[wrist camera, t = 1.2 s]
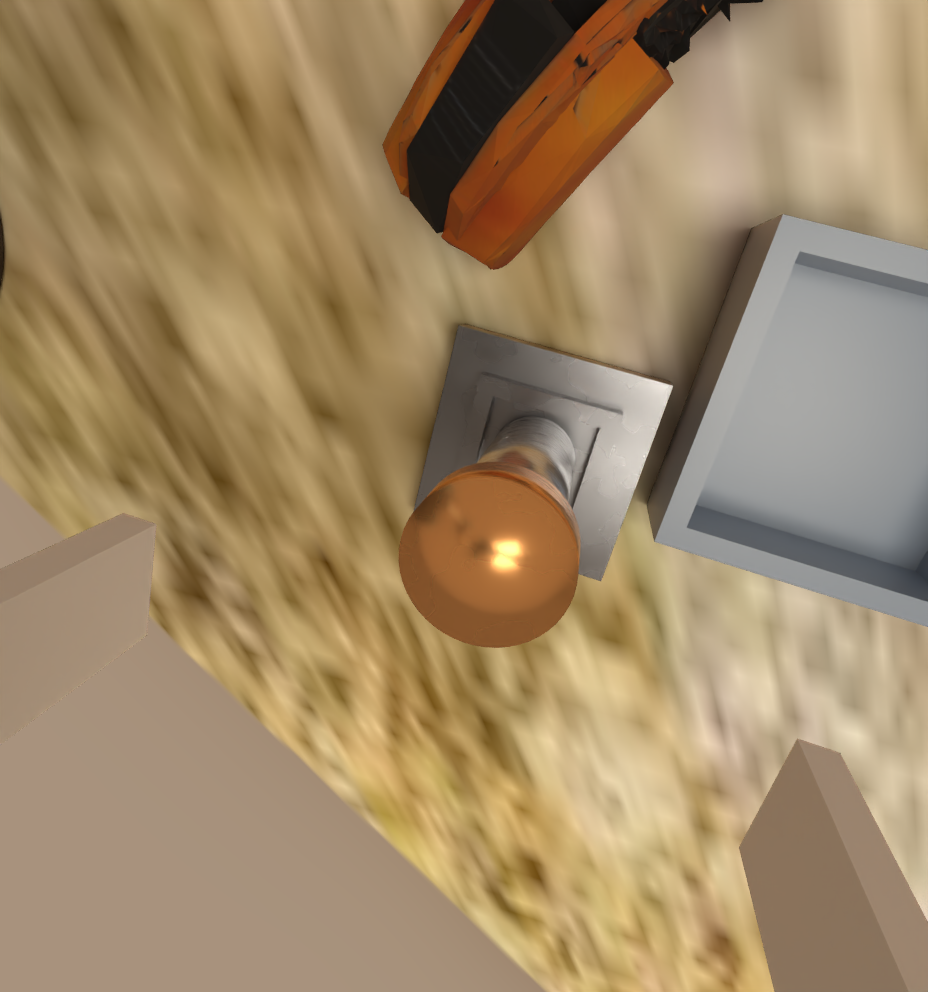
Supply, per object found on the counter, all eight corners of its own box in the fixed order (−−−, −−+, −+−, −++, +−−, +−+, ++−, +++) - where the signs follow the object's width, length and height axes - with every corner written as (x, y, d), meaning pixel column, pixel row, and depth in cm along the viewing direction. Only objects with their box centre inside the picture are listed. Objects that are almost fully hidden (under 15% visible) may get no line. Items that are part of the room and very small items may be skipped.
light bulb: (467, 491, 31) (382, 614, 19) (495, 390, 30) (420, 455, 18) (568, 523, 31) (547, 670, 19) (602, 421, 29) (603, 512, 17)
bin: (646, 505, 31) (654, 541, 27) (751, 228, 27) (783, 214, 22) (917, 587, 30) (975, 641, 25) (1075, 309, 25) (1181, 312, 21)
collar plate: (419, 510, 34) (405, 526, 32) (465, 323, 31) (454, 326, 28) (601, 569, 33) (600, 589, 31) (669, 381, 29) (675, 389, 27)
